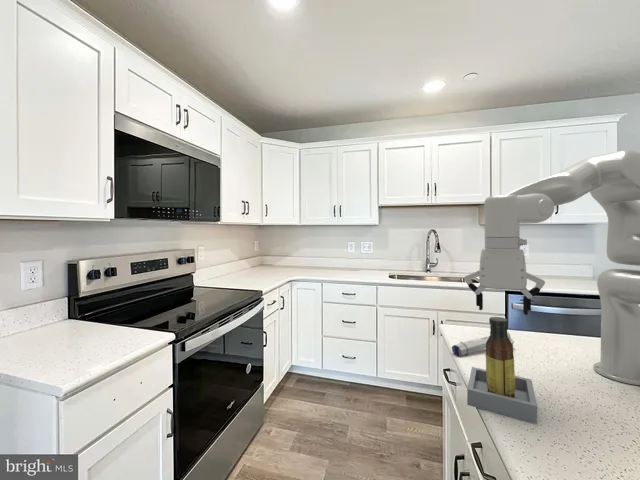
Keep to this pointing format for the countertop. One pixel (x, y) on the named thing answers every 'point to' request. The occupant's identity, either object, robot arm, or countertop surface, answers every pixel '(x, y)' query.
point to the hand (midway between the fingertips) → (502, 311)
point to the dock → (503, 397)
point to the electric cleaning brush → (472, 346)
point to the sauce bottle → (500, 359)
